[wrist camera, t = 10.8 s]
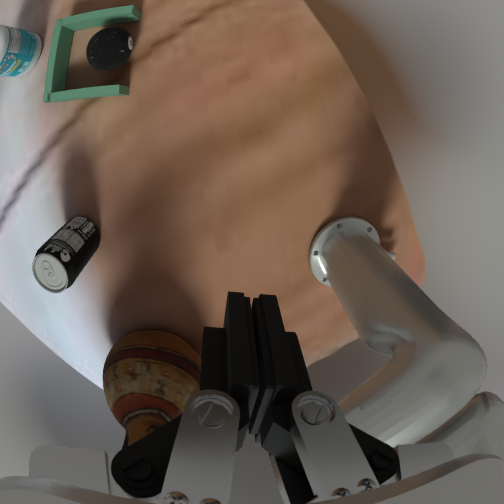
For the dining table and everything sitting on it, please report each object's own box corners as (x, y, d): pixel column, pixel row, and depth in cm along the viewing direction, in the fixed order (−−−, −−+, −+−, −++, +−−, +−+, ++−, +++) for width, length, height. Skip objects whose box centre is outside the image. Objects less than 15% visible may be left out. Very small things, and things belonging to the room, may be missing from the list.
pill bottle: (9, 82, 25) (-47, 86, 13) (12, 42, 22) (-41, 36, 10) (42, 68, 26) (-15, 64, 14) (46, 27, 23) (-6, 11, 11)
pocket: (141, 13, 25) (133, 5, 22) (128, 95, 31) (118, 93, 27) (69, 25, 24) (56, 20, 20) (57, 102, 29) (43, 102, 26)
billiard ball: (97, 39, 26) (79, 30, 21) (138, 28, 26) (124, 16, 21) (97, 76, 29) (78, 72, 24) (138, 67, 29) (124, 60, 24)
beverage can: (77, 256, 41) (45, 299, 30) (60, 221, 38) (21, 258, 27) (108, 247, 41) (78, 291, 30) (92, 209, 38) (54, 245, 27)
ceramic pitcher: (223, 341, 52) (233, 496, 26) (186, 393, 59) (184, 513, 33) (123, 304, 46) (74, 462, 20) (105, 366, 53) (76, 487, 27)
